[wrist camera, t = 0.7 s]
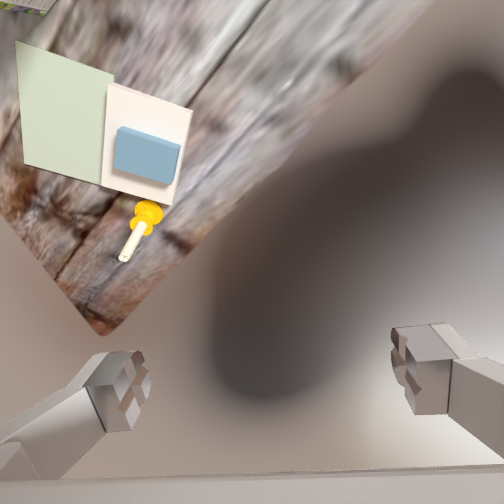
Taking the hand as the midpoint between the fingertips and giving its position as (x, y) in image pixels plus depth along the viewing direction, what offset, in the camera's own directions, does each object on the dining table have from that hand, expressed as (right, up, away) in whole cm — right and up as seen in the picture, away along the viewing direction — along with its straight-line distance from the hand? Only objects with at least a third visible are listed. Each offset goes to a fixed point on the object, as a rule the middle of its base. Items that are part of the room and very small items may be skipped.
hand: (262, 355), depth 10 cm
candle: (-20, +11, +48) cm, 53 cm away
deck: (-18, +21, +41) cm, 49 cm away
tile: (-17, +19, +39) cm, 46 cm away
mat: (-30, +24, +38) cm, 54 cm away
